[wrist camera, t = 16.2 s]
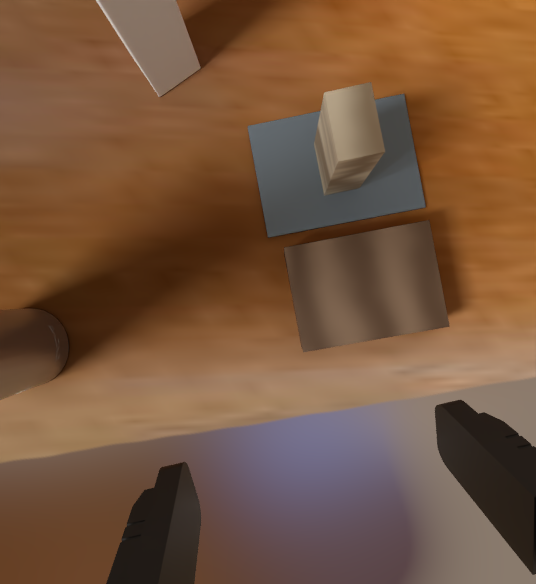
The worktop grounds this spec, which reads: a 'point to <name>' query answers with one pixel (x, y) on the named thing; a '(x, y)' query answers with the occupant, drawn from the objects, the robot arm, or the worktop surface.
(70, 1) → the worktop surface
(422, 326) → the plate
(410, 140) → the rubber mat
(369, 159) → the birch block
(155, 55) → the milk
